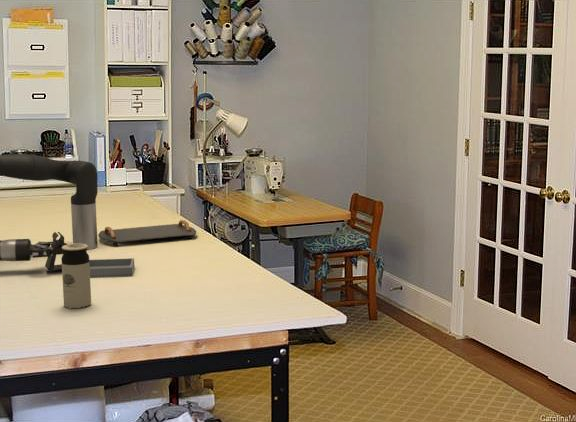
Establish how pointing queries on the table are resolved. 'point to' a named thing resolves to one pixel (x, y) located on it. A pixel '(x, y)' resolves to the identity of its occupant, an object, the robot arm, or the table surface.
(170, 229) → the serving board
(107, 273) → the tray
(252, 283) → the table surface
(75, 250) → the travel mug
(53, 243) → the phone stand
